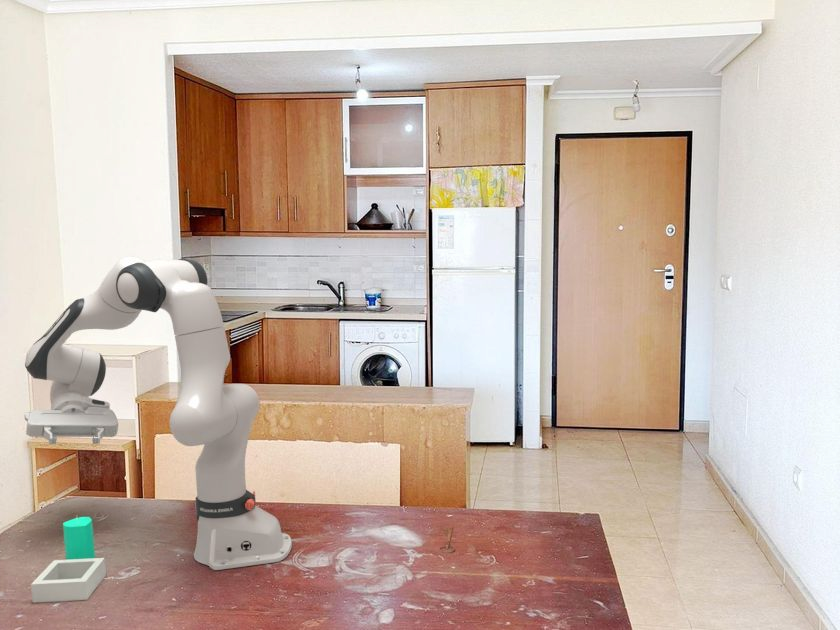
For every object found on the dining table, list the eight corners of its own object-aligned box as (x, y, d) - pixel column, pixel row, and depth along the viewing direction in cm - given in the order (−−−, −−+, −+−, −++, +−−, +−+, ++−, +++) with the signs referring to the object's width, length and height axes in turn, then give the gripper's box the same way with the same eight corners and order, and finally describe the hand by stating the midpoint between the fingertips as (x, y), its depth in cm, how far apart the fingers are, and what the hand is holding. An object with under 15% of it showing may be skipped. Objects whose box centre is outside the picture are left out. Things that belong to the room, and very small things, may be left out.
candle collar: (106, 574, 164) (104, 557, 164) (87, 599, 153) (85, 581, 153) (55, 577, 164) (53, 560, 163) (32, 602, 153) (30, 584, 152)
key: (436, 529, 186) (429, 555, 171) (436, 525, 186) (429, 551, 171) (459, 527, 185) (454, 554, 170) (459, 524, 185) (454, 550, 170)
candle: (67, 573, 165) (62, 522, 164) (66, 563, 171) (61, 513, 169) (96, 567, 168) (92, 516, 167) (94, 557, 173) (90, 508, 172)
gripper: (26, 400, 179) (27, 429, 168) (115, 402, 190) (122, 429, 179) (23, 422, 181) (23, 453, 170) (112, 423, 192) (118, 452, 181)
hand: (75, 441), depth 175 cm, fingers open, 8 cm apart
